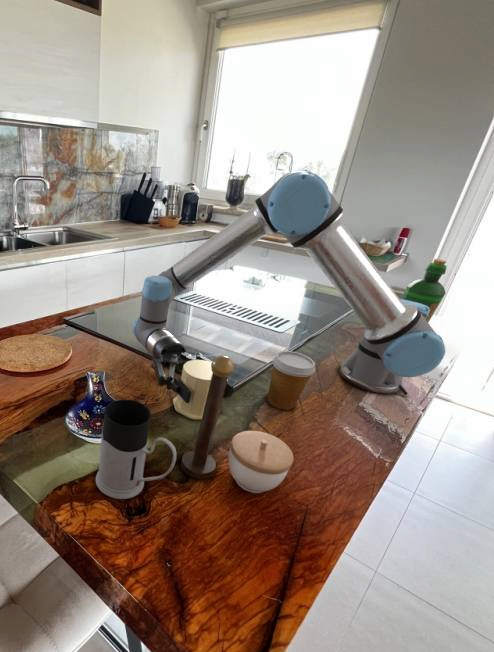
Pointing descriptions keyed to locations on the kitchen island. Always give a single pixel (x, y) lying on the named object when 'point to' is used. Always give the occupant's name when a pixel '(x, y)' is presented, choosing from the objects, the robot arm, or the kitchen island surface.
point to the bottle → (428, 287)
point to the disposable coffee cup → (289, 378)
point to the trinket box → (259, 461)
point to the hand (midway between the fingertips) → (210, 394)
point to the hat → (194, 388)
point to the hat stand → (208, 422)
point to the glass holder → (126, 449)
